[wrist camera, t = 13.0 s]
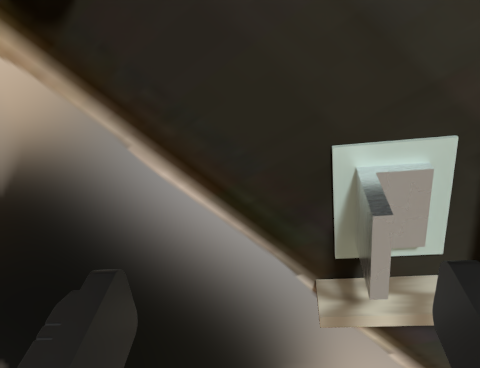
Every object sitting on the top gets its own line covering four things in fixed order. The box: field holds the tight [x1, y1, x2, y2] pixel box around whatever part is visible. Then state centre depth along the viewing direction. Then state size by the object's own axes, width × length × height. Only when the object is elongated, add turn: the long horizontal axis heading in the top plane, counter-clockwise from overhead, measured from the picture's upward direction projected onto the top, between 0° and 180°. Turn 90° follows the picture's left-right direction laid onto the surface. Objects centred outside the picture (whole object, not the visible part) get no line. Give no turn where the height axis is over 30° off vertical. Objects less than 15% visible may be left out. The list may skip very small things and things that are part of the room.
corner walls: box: [316, 275, 438, 328], centre depth 35 cm, size 17×18×5 cm
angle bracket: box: [355, 162, 434, 300], centre depth 33 cm, size 8×6×8 cm
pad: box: [332, 135, 458, 259], centre depth 37 cm, size 10×12×1 cm
